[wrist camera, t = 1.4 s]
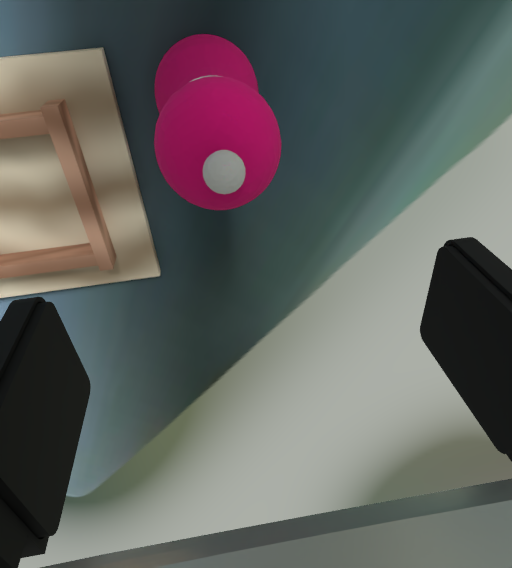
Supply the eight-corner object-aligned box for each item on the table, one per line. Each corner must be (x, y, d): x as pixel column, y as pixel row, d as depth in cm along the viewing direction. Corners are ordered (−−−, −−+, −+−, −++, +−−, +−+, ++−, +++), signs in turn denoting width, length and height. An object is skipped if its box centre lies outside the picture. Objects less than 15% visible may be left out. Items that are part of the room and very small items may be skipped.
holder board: (-190, 75, 28) (-226, 84, 26) (103, 47, 30) (95, 53, 27) (-42, 298, 40) (-58, 319, 38) (160, 270, 42) (159, 288, 39)
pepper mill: (201, 147, 35) (217, 284, 19) (137, 75, 31) (89, 172, 15) (267, 88, 33) (347, 187, 17) (207, 4, 29) (237, 29, 13)
